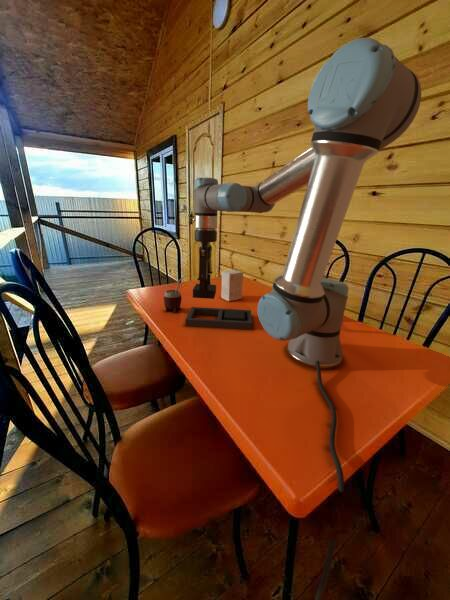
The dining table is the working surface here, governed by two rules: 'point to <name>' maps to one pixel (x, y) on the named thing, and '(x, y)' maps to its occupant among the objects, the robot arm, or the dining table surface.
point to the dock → (219, 322)
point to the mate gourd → (173, 299)
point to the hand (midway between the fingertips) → (205, 294)
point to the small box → (232, 285)
